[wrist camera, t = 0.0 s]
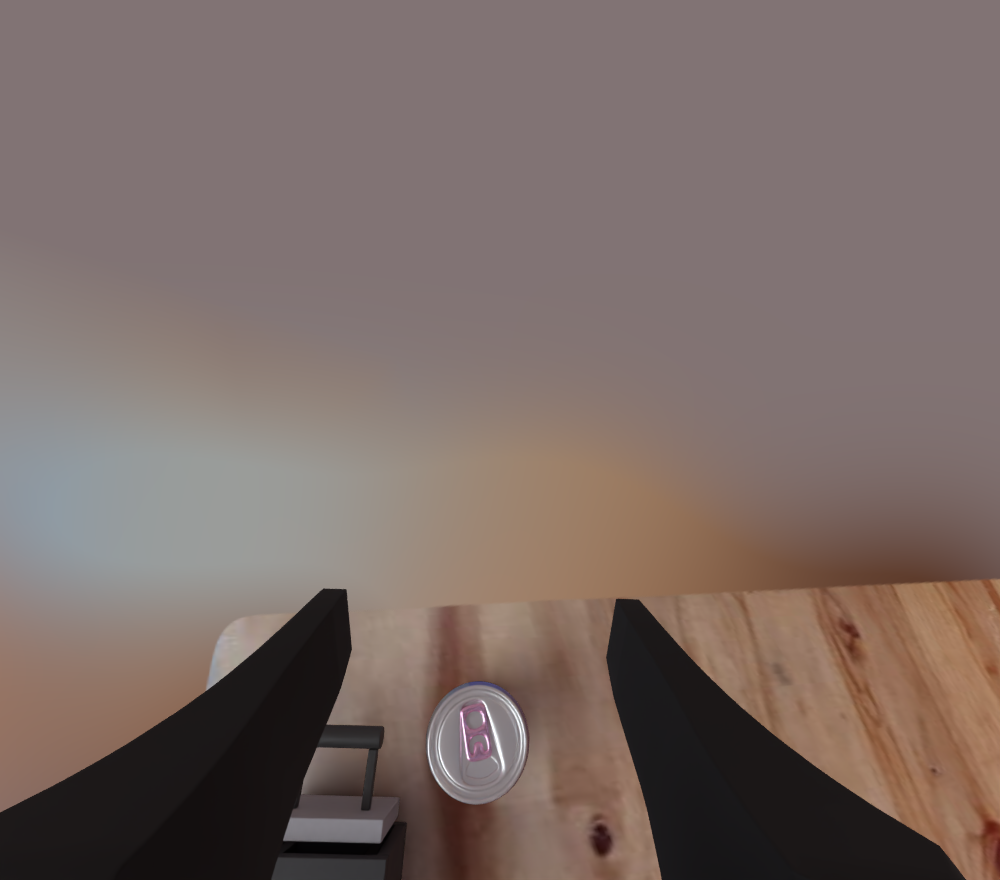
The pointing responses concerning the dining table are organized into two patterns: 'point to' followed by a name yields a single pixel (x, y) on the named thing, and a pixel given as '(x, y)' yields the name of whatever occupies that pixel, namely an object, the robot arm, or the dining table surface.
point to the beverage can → (477, 742)
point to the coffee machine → (346, 862)
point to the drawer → (343, 805)
